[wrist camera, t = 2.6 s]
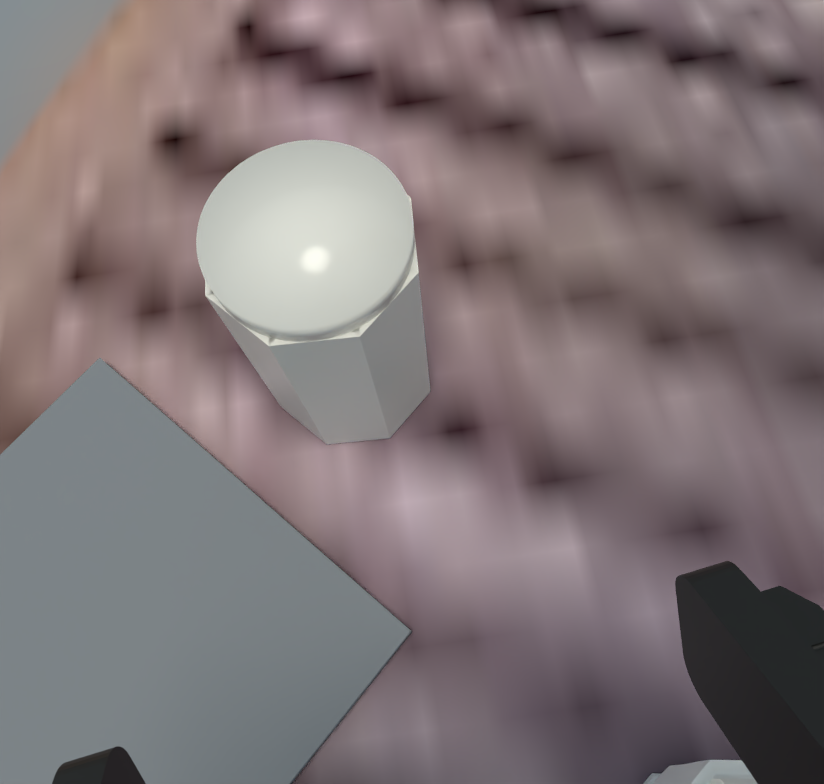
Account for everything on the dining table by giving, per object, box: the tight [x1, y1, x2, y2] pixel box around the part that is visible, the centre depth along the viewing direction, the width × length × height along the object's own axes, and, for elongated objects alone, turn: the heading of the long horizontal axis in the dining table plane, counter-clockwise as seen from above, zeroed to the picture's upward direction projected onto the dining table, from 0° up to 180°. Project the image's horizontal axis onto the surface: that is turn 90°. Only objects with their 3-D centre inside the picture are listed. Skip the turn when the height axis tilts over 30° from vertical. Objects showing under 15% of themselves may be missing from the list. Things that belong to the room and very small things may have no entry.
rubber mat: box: [0, 358, 412, 784], centre depth 26 cm, size 16×16×1 cm
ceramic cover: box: [196, 140, 431, 445], centre depth 24 cm, size 6×6×10 cm
